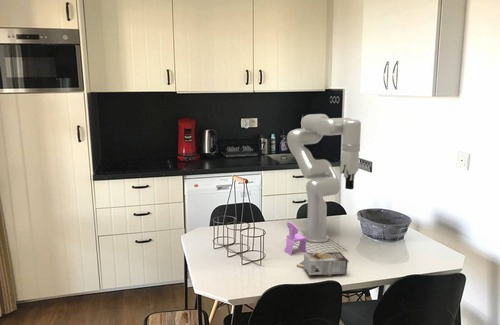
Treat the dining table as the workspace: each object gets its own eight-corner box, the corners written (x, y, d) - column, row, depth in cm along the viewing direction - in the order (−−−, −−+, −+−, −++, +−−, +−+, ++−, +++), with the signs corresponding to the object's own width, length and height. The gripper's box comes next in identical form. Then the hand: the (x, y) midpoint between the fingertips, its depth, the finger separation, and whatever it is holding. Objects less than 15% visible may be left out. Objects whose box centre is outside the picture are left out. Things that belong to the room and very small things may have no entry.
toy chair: (308, 252, 201) (308, 222, 198) (292, 256, 196) (293, 225, 194) (297, 247, 208) (298, 217, 205) (282, 250, 204) (283, 220, 201)
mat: (296, 266, 186) (296, 264, 186) (316, 253, 200) (316, 251, 200) (330, 276, 176) (330, 274, 176) (348, 261, 190) (348, 259, 190)
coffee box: (303, 252, 182) (339, 251, 184) (303, 267, 183) (339, 265, 185) (310, 260, 173) (348, 259, 176) (309, 275, 174) (347, 274, 176)
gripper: (350, 145, 195) (348, 184, 198) (335, 149, 183) (334, 190, 186) (365, 146, 190) (364, 186, 194) (352, 151, 179) (350, 193, 182)
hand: (349, 188), depth 190 cm, fingers closed
